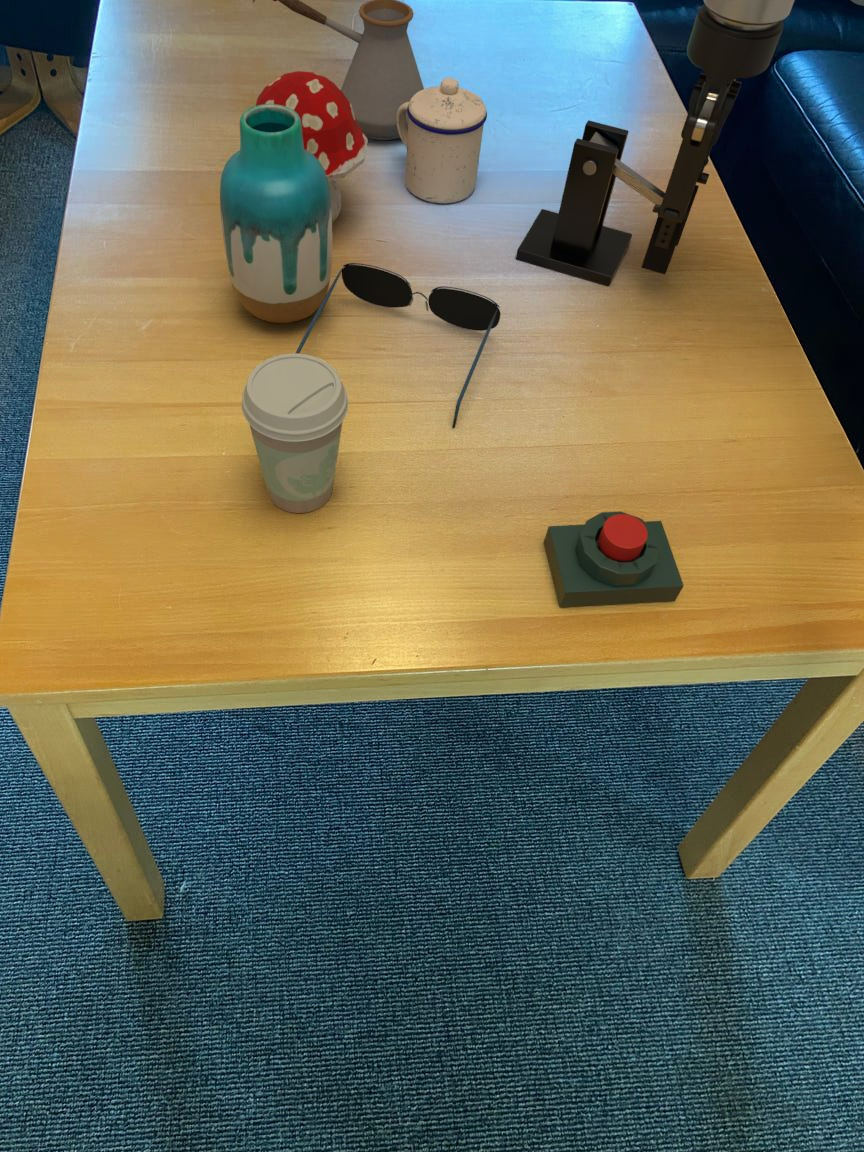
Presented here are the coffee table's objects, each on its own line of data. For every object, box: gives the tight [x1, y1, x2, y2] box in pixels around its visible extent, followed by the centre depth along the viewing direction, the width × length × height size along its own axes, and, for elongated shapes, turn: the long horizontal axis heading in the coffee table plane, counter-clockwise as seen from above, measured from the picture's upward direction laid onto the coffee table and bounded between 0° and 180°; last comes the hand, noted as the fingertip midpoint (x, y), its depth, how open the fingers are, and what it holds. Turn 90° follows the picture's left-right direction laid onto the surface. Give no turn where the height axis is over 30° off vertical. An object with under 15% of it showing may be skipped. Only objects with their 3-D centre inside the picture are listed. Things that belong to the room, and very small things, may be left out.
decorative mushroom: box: [254, 70, 369, 224], centre depth 93 cm, size 14×14×15 cm
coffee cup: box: [241, 352, 349, 514], centre depth 72 cm, size 8×8×12 cm
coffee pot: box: [252, 0, 425, 141], centre depth 105 cm, size 21×12×15 cm, turn 89°
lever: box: [590, 132, 666, 205], centre depth 90 cm, size 12×5×2 cm, turn 66°
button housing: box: [543, 511, 685, 608], centre depth 72 cm, size 10×7×4 cm
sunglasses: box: [295, 262, 501, 429], centre depth 86 cm, size 17×15×5 cm
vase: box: [219, 104, 333, 324], centre depth 83 cm, size 11×11×19 cm
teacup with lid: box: [396, 77, 488, 204], centre depth 100 cm, size 12×9×12 cm
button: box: [598, 514, 648, 561], centre depth 70 cm, size 4×4×2 cm
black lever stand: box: [515, 120, 633, 287], centre depth 93 cm, size 11×9×13 cm
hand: (660, 254), depth 95 cm, fingers closed on lever, 5 cm apart
